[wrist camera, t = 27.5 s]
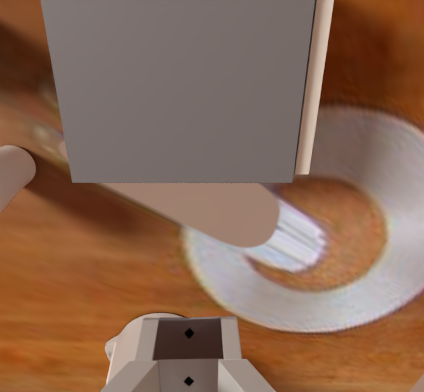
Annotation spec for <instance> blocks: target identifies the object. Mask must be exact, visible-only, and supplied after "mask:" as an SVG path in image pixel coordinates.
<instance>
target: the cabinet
mask: <svg viewBox="0 0 424 392" xmlns="http://www.w3.org/2000/svg"><path fill="white" fill-rule="evenodd" d="M314 5H315V0H41V6H42V11H43V17H44V23H45V29H46V34H47V40H48V46H49V52H50V57H51V63H52V69H53V75H54V80H55V86H56V92H57V98H58V103H59V109H60V115H61V120H62V126H63V132H64V138H65V143H66V149H67V155H68V161H69V166H70V172H71V178H72V183H292V182H293V174H294V166H295V158H296V150H297V142H298V134H299V125H300V117H301V109H302V101H303V93H304V85H305V77H306V69H307V61H308V53H309V45H310V37H311V29H312V21H313V13H314Z"/></svg>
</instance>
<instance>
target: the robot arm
mask: <svg viewBox="0 0 424 392" xmlns="http://www.w3.org/2000/svg"><path fill="white" fill-rule="evenodd" d="M105 352H106V354H107V356H108V358H109V360H110V367H109V372H108V377H107V382H106V386H105V387H104V388H103V389H102V390H101V391H100V392H276V391H275V390H274V389H273V388H272V387H271V385H270V384H269V383H268V382H267V381H266V380H265V379H264V378H263V376H262V375H261V374H260V373H259V372H258V371H257V370H256V369H255V367H254V366H253V365H252V364H251V363H250V362H249V361H248V360H247V359H242V353H241V345H240V338H239V330H238V323H237V318H236V316H228V317H190V318H184V317H181V316H178V315H174V314H169V313H153V314H148V315H144V316H141V317H139V318H137V319H135V320H133V321H131V322H130V323H129V324H128V325H127V326H126V327H125V328H124V329H123V331H122V332H121V333H120V334H119V335H118V336H116V337H114V338H112V339H110V340H109V341H108V342H107V343H106V346H105Z"/></svg>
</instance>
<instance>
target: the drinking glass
mask: <svg viewBox="0 0 424 392" xmlns="http://www.w3.org/2000/svg"><path fill="white" fill-rule="evenodd" d="M35 173H36V165H35V162H34V160H33V158H32V157H31V155H30V154H29V153H28V152H27V151H25V150H24V149H22V148H20V147H17V146H13V145H6V146H2V147H0V214H1V212H2V211H3V210H4V209H5V208H6V207H7V206H8V205H9V203H10V202H11V201H12V200H13V199H14V198H15V197H16V196H17V194H18V193H19V192H20V191H21V190H22V189H23V188H24V187H25V186H26V185H27V184H28V183H29V182H31V180H32V179H33V178H34V176H35Z"/></svg>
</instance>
